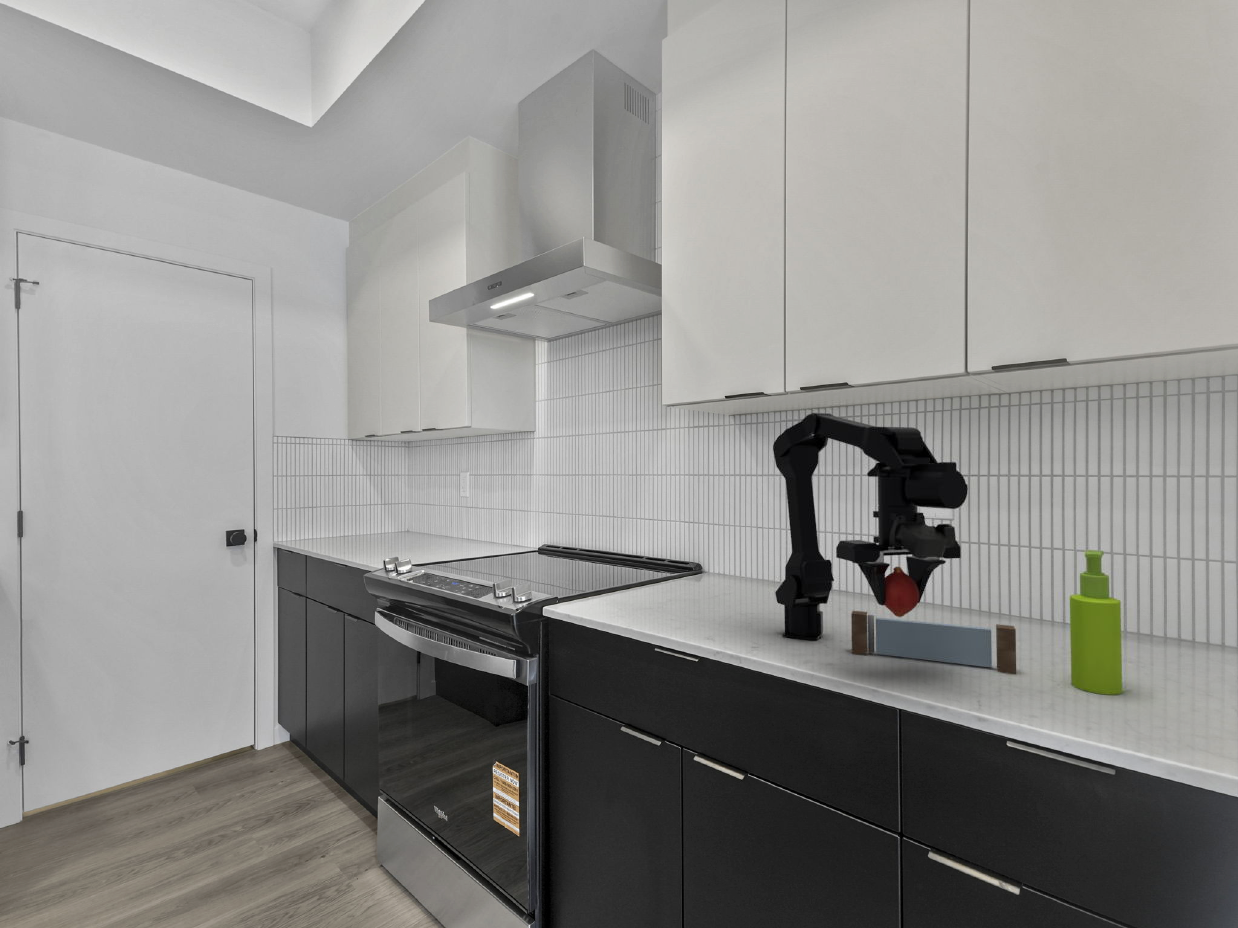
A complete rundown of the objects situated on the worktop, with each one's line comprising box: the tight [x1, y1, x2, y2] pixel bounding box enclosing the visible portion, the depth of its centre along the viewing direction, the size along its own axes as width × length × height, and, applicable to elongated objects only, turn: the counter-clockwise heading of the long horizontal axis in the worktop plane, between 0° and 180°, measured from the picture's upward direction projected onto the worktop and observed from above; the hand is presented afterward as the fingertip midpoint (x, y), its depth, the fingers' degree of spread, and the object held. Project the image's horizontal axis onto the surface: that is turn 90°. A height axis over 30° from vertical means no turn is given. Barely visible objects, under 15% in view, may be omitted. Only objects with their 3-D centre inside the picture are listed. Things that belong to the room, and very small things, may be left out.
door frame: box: [850, 610, 1017, 675], centre depth 101 cm, size 24×3×7 cm, turn 63°
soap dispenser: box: [1069, 549, 1123, 696], centre depth 89 cm, size 6×7×20 cm
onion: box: [883, 566, 919, 618], centre depth 96 cm, size 6×6×8 cm
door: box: [867, 614, 993, 668], centre depth 102 cm, size 18×1×6 cm, turn 63°
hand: (898, 603), depth 96 cm, fingers closed on onion, 6 cm apart
